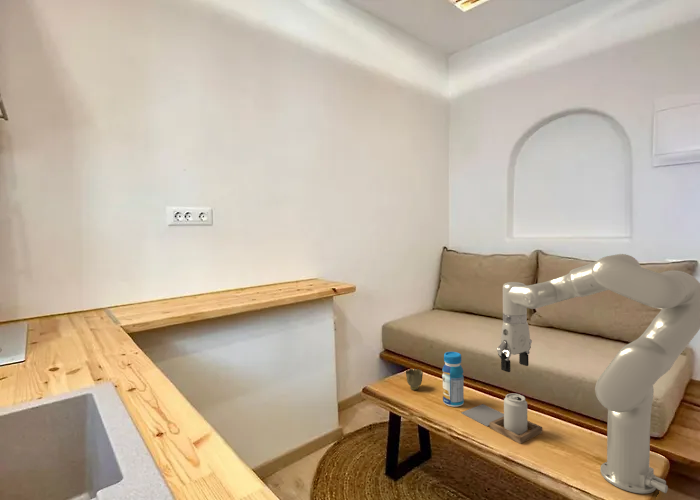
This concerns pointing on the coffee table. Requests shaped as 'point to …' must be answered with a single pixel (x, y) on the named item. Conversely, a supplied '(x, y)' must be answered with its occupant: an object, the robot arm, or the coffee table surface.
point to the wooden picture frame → (520, 439)
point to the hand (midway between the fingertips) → (515, 367)
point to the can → (515, 413)
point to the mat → (483, 414)
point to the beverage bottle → (453, 380)
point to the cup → (414, 378)
